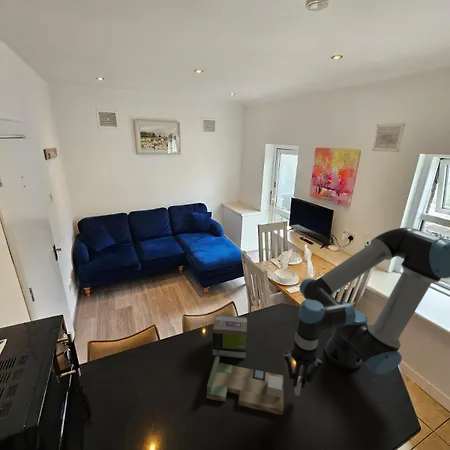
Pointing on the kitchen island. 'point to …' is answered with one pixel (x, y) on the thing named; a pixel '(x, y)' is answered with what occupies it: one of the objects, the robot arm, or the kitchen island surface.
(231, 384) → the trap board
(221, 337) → the tea box
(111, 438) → the kitchen island surface
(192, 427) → the kitchen island surface
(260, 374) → the block
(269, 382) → the cream block
